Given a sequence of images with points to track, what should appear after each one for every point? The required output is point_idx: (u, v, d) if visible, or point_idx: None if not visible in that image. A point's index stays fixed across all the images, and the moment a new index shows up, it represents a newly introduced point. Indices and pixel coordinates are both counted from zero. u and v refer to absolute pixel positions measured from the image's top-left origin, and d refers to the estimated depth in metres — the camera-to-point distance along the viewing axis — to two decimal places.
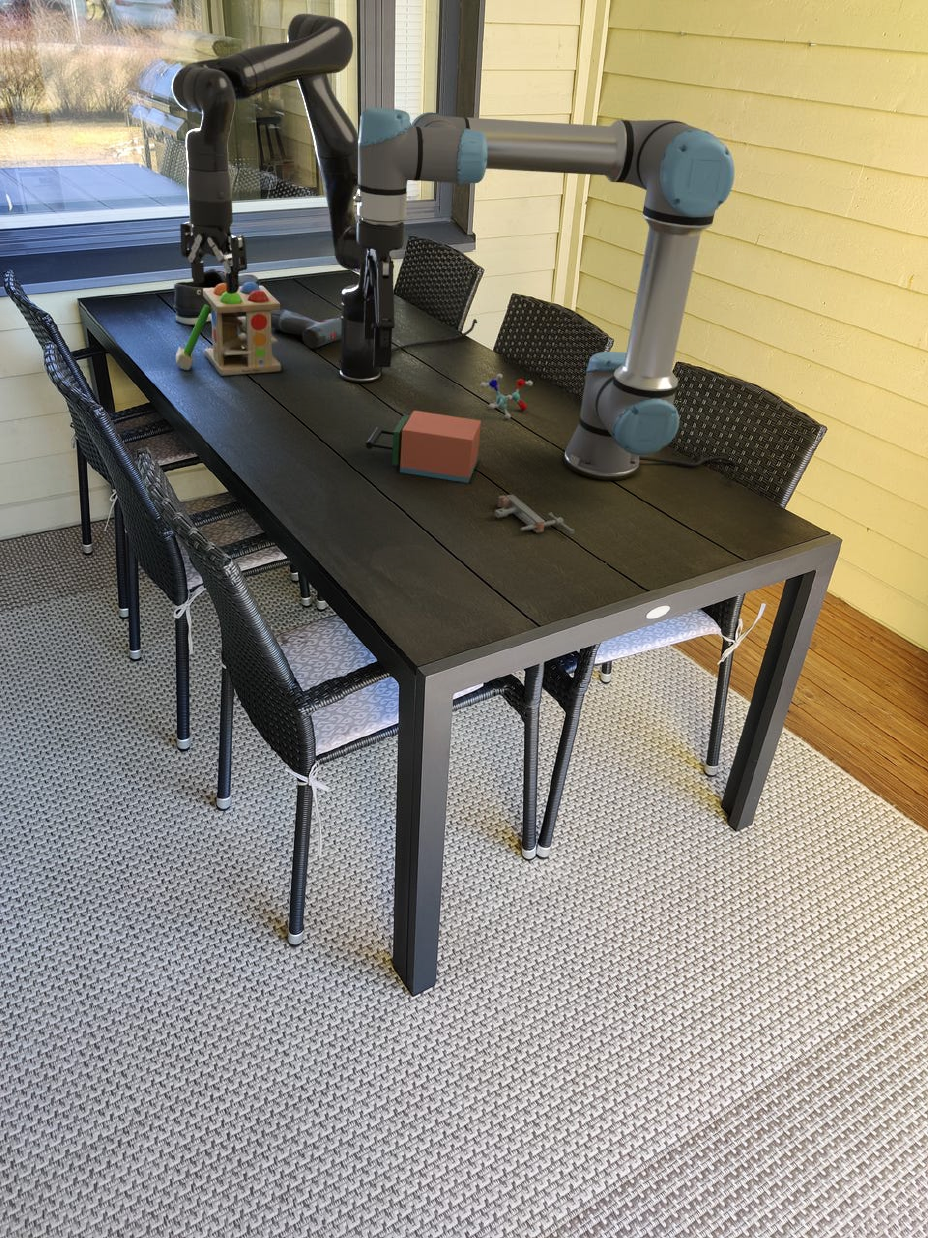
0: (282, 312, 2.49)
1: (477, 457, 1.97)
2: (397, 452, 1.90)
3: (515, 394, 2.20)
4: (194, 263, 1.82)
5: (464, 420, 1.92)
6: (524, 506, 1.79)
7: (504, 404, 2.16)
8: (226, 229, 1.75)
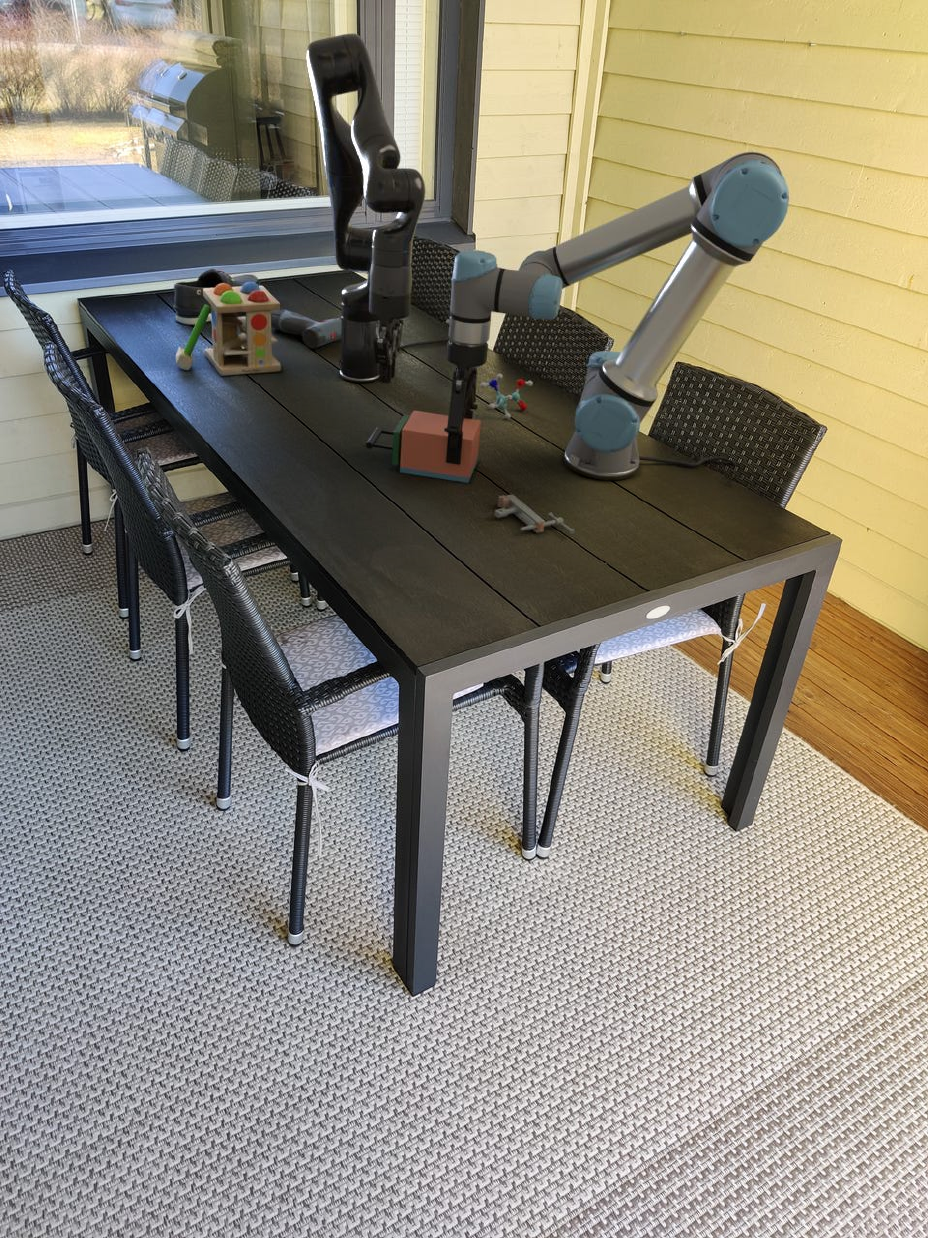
0: (282, 312, 2.49)
1: (477, 457, 1.97)
2: (397, 452, 1.90)
3: (515, 394, 2.20)
4: None
5: (464, 420, 1.92)
6: (524, 506, 1.79)
7: (504, 404, 2.16)
8: None
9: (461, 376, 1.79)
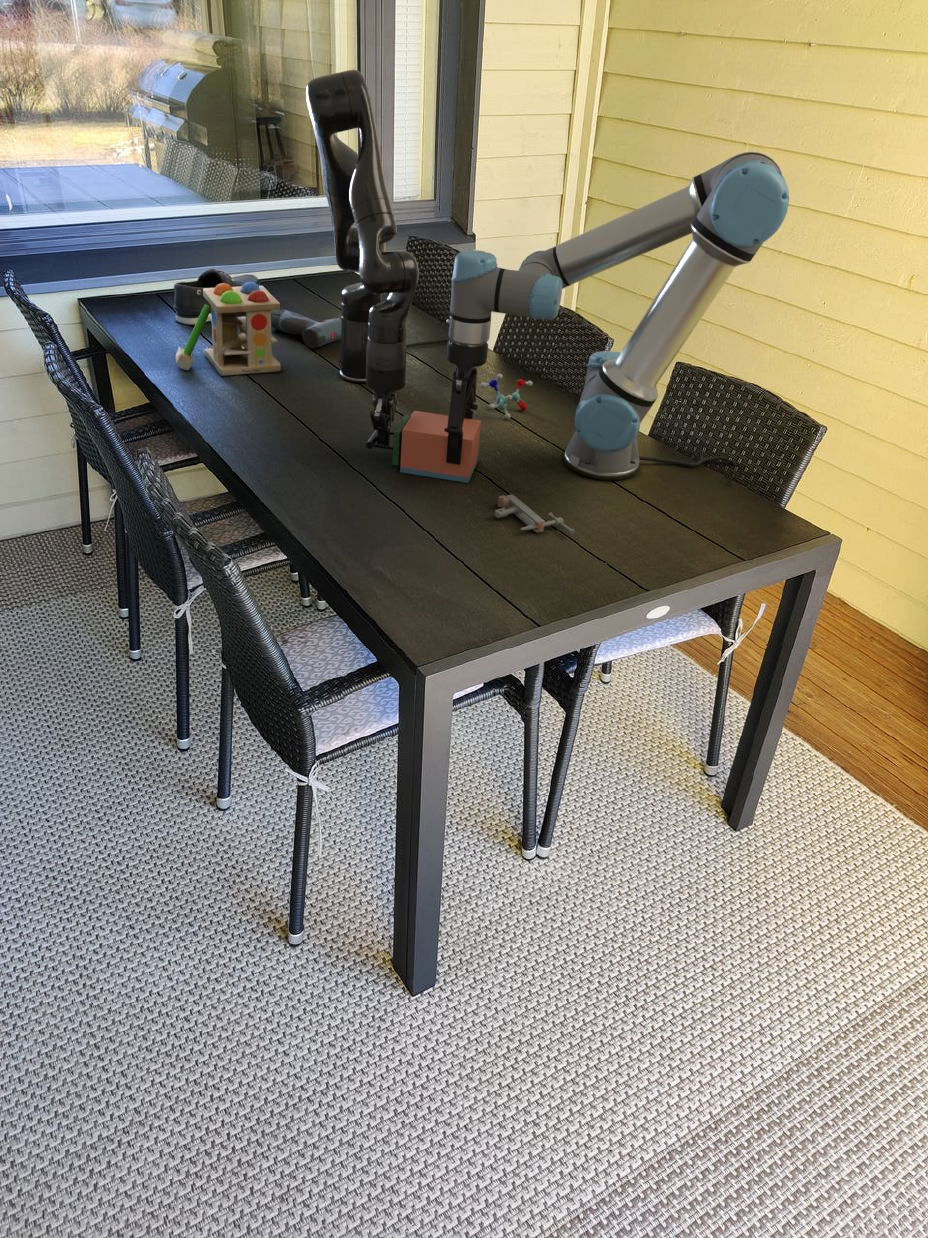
0: (282, 312, 2.49)
1: (477, 457, 1.97)
2: (397, 452, 1.90)
3: (515, 394, 2.20)
4: (387, 430, 1.92)
5: (464, 420, 1.92)
6: (524, 506, 1.79)
7: (504, 404, 2.16)
8: None
9: (461, 376, 1.79)
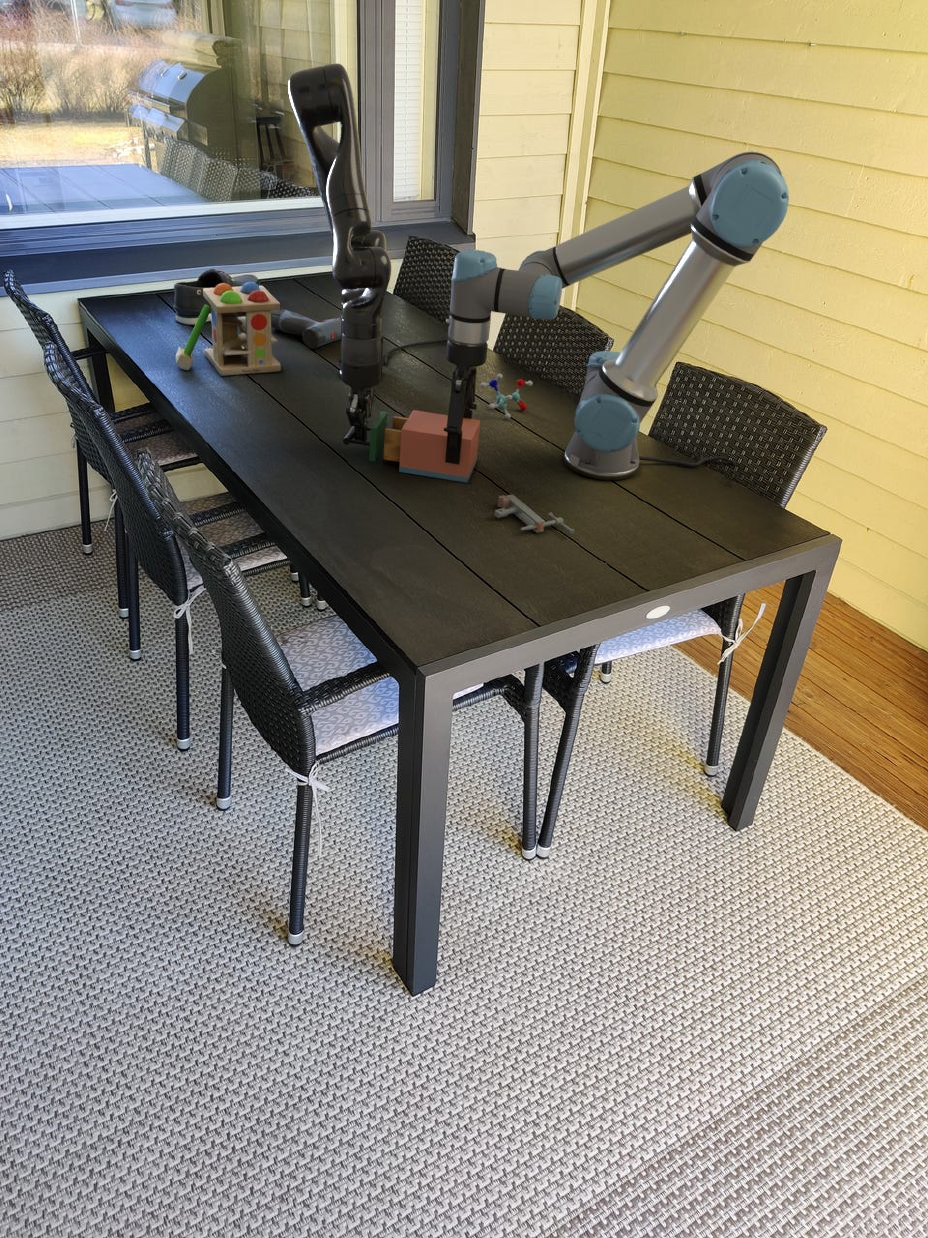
0: (282, 312, 2.49)
1: (476, 457, 1.97)
2: (374, 448, 1.90)
3: (515, 394, 2.20)
4: None
5: (463, 420, 1.92)
6: (524, 506, 1.79)
7: (504, 404, 2.16)
8: None
9: (461, 376, 1.79)
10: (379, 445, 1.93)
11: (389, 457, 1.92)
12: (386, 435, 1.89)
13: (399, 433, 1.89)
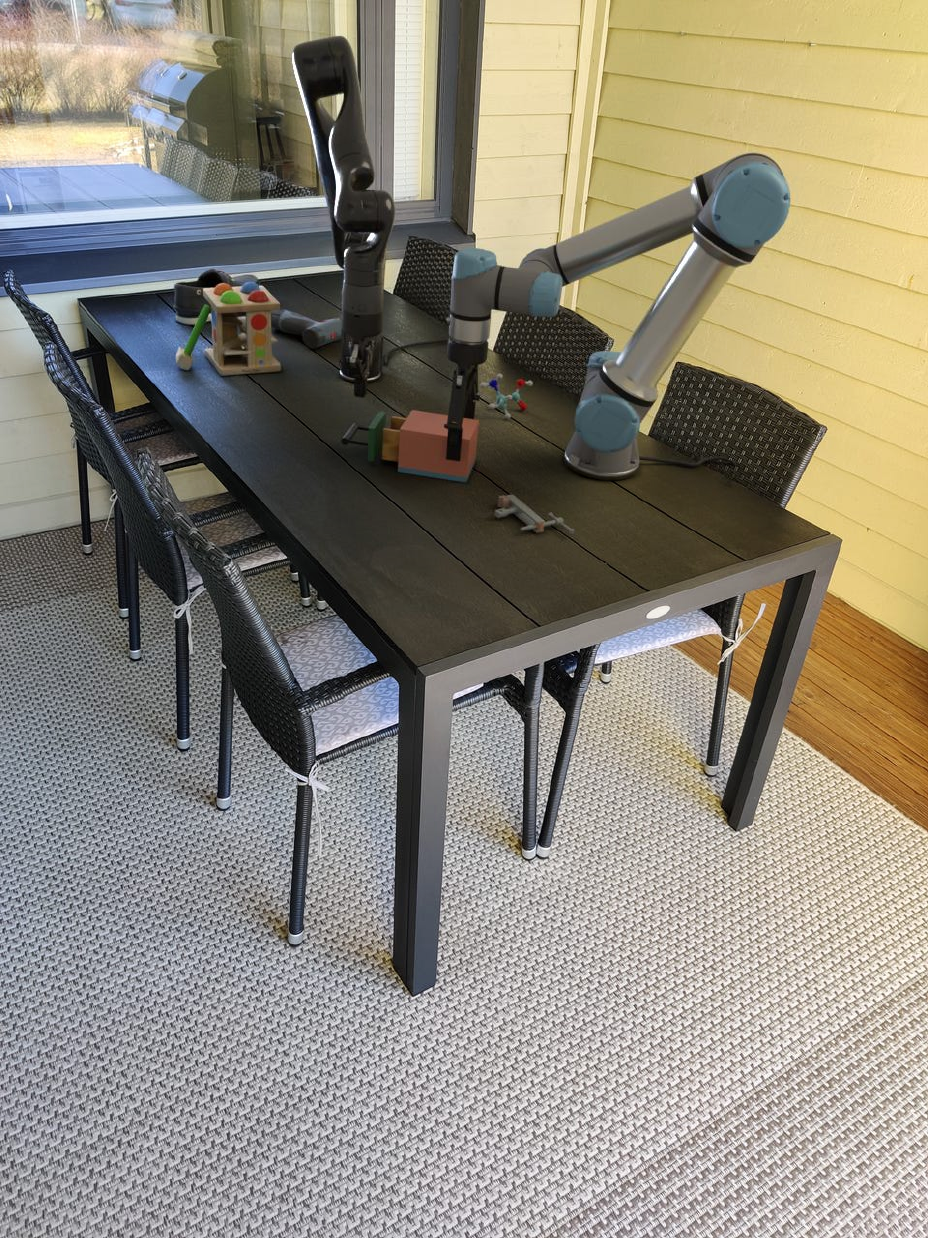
0: (282, 312, 2.49)
1: (475, 457, 1.97)
2: (372, 448, 1.90)
3: (515, 394, 2.20)
4: None
5: None
6: (524, 506, 1.79)
7: (504, 404, 2.16)
8: None
9: (462, 373, 1.79)
10: (377, 445, 1.93)
11: (387, 457, 1.92)
12: (384, 435, 1.89)
13: (397, 433, 1.89)
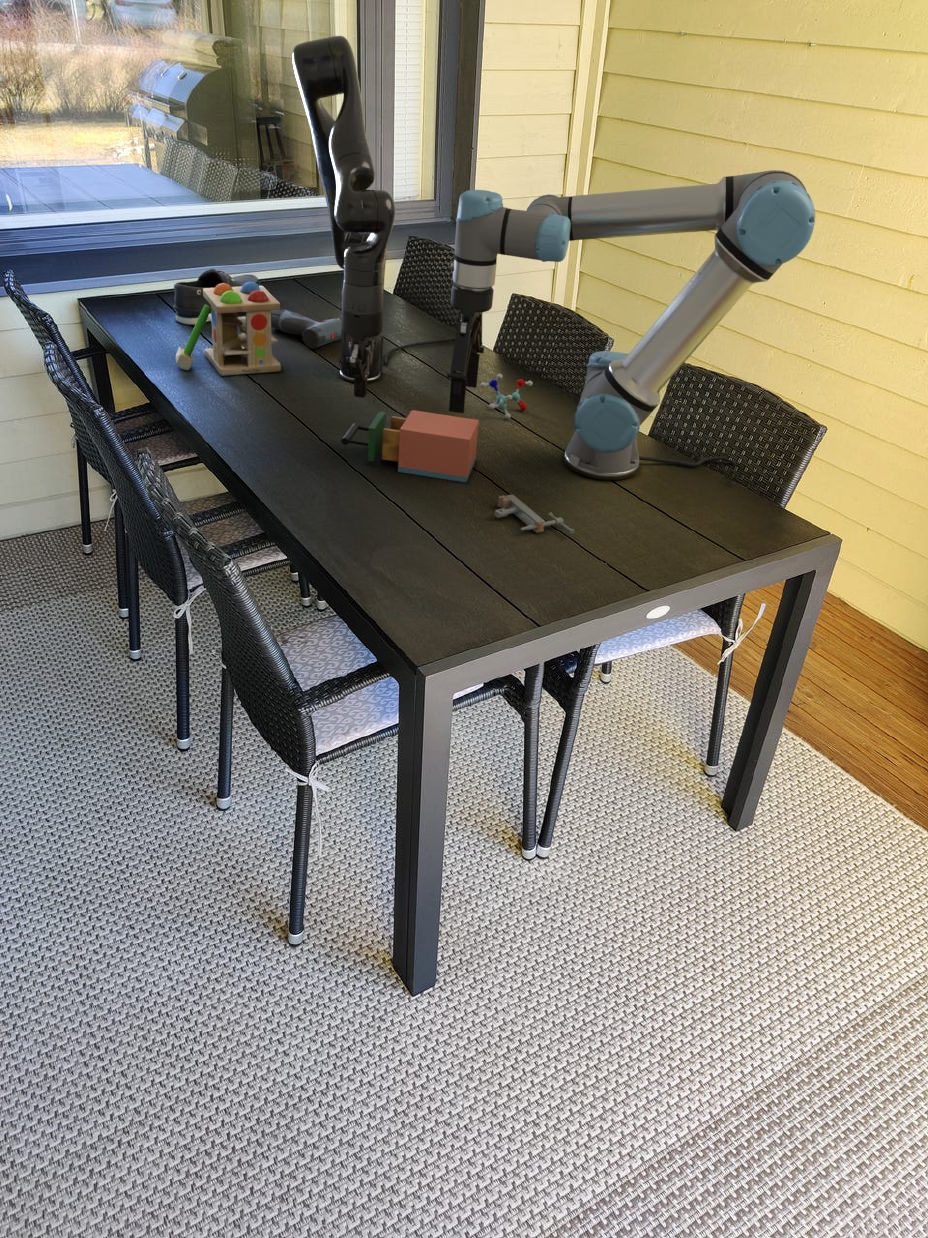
0: (282, 312, 2.49)
1: (475, 457, 1.97)
2: (372, 448, 1.90)
3: (515, 394, 2.20)
4: None
5: (462, 420, 1.92)
6: (524, 506, 1.79)
7: (504, 404, 2.16)
8: None
9: (466, 320, 1.74)
10: (377, 445, 1.93)
11: (387, 457, 1.92)
12: (384, 435, 1.89)
13: (397, 433, 1.89)
